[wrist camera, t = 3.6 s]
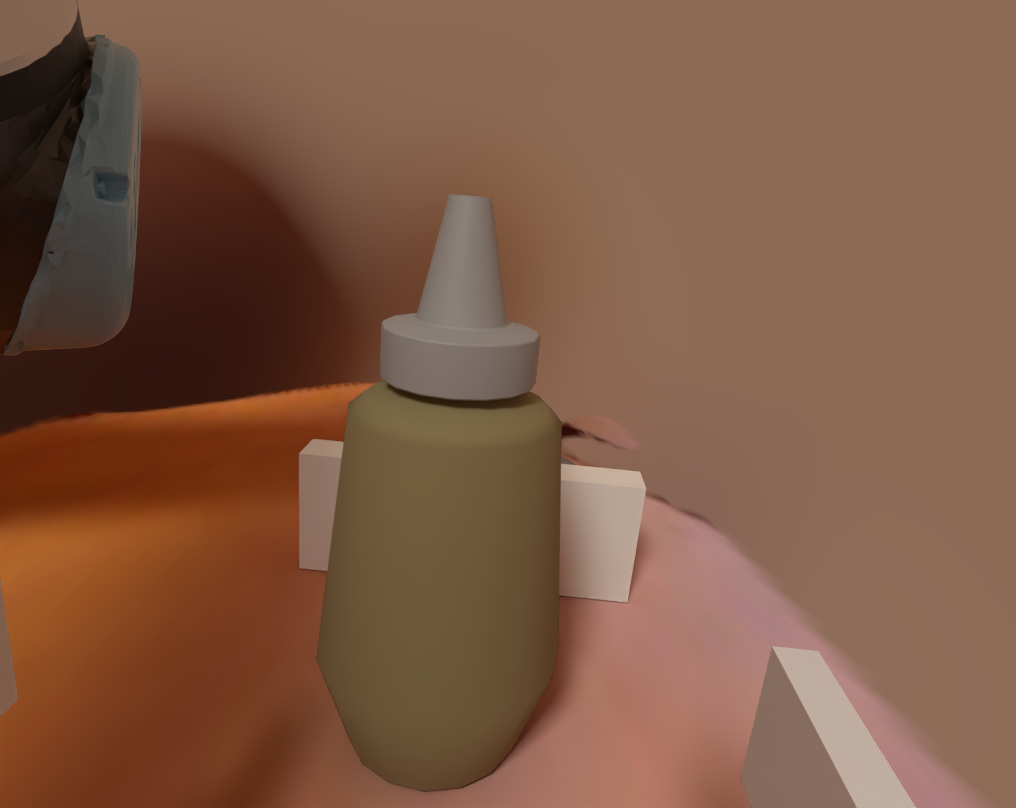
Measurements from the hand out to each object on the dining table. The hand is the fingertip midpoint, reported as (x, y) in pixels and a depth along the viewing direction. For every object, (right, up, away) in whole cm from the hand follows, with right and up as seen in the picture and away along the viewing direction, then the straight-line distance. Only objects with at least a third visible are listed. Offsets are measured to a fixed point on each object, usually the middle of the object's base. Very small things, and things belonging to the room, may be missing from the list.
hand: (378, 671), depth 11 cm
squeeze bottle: (0, -7, +12) cm, 14 cm away
